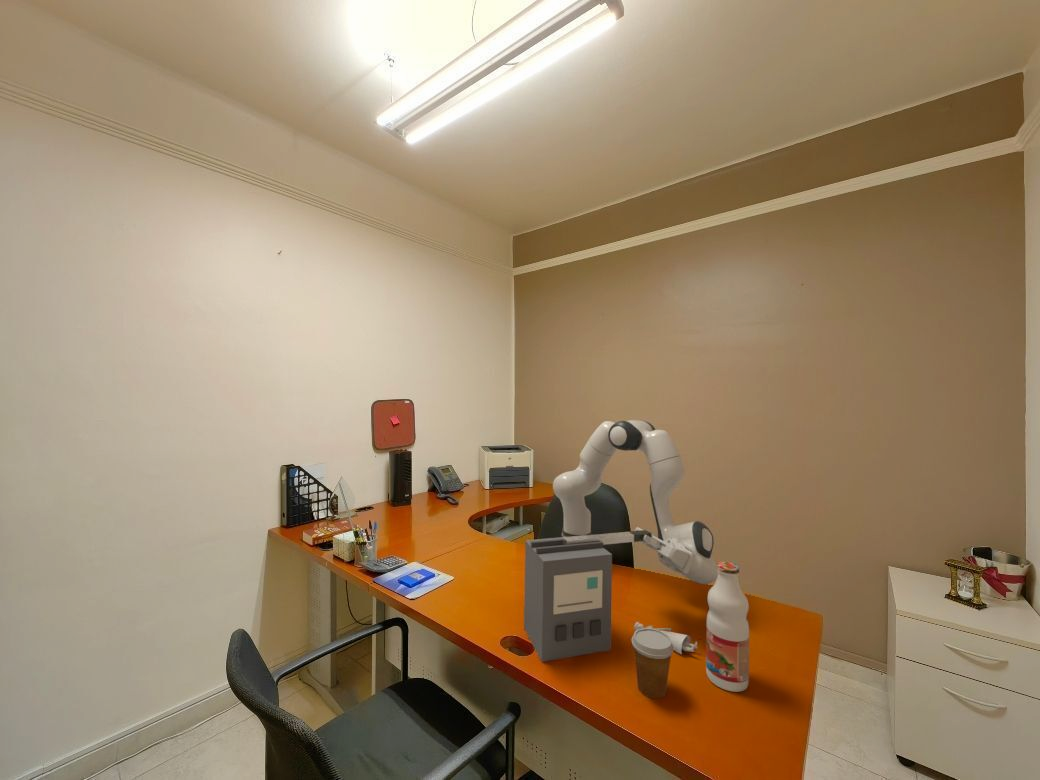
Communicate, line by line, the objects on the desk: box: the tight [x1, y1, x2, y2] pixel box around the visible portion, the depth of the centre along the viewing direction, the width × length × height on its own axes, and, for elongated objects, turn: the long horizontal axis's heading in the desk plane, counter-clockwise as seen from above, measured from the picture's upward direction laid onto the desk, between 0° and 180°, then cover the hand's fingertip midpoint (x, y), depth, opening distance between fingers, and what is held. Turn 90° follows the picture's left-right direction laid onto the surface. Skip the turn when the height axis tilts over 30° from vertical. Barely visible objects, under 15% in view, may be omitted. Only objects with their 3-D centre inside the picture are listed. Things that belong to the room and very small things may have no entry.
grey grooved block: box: [523, 535, 613, 663], centre depth 117 cm, size 17×20×27 cm
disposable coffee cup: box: [630, 627, 674, 699], centre depth 97 cm, size 10×10×12 cm
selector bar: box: [563, 529, 654, 546], centre depth 121 cm, size 3×28×2 cm, turn 106°
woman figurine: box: [633, 621, 699, 656], centre depth 116 cm, size 12×4×18 cm
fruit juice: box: [705, 561, 750, 693], centre depth 101 cm, size 9×9×28 cm
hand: (639, 534), depth 124 cm, fingers closed on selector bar, 3 cm apart
